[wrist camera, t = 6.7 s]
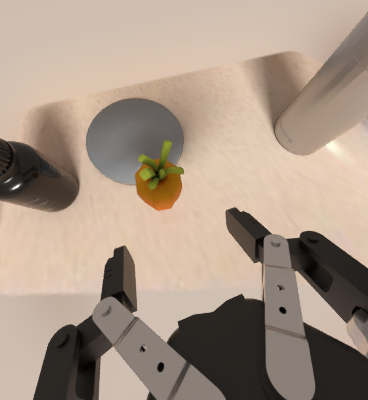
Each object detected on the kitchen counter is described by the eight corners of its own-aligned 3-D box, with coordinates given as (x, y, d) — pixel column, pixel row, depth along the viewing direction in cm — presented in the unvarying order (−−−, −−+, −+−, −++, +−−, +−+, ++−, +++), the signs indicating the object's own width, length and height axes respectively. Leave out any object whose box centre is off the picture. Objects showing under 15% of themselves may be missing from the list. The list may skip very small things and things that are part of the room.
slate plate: (166, 95, 33) (166, 90, 32) (195, 169, 29) (196, 166, 28) (80, 114, 31) (77, 110, 30) (100, 197, 27) (97, 196, 26)
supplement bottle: (35, 173, 27) (-65, 120, 16) (80, 169, 28) (16, 116, 16) (31, 215, 26) (-85, 191, 14) (79, 211, 26) (6, 184, 15)
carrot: (168, 183, 28) (163, 118, 14) (185, 208, 27) (199, 166, 13) (141, 199, 27) (107, 147, 13) (158, 225, 27) (141, 201, 12)
